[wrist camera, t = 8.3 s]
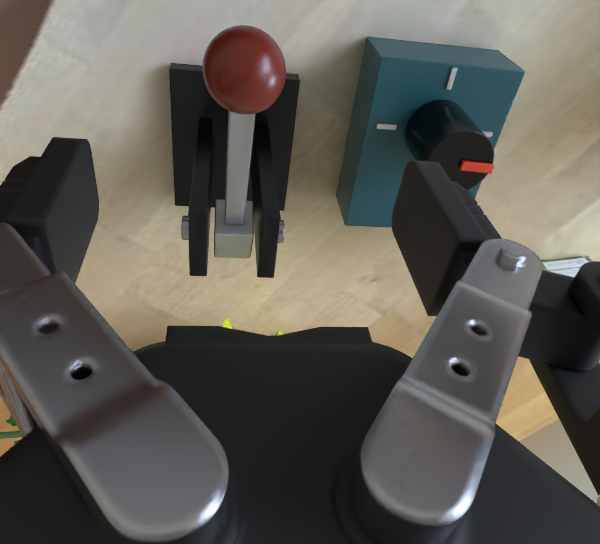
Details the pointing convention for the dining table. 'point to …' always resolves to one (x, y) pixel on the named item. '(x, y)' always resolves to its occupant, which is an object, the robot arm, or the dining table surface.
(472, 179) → the knob
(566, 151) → the dining table surface
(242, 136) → the lever
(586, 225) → the dining table surface
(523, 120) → the dining table surface
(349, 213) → the dial panel
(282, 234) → the lever bracket
